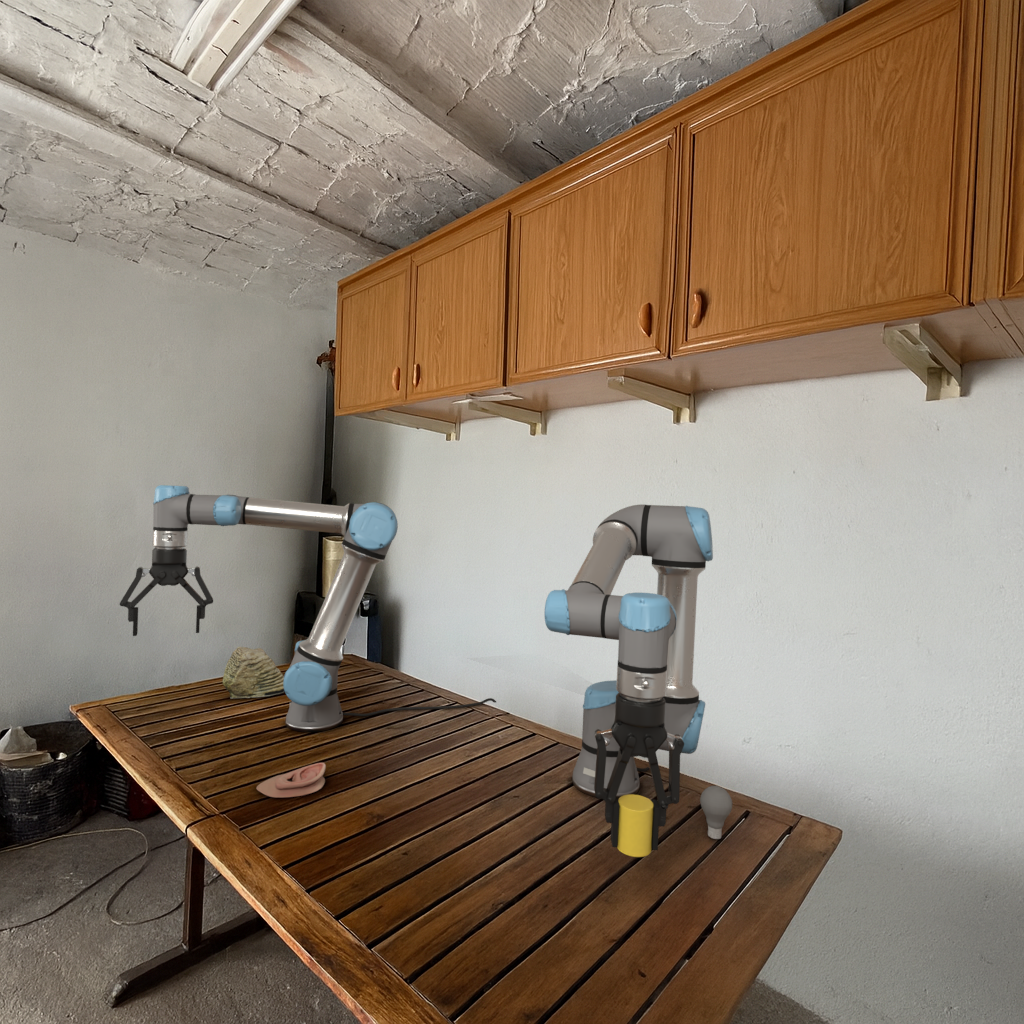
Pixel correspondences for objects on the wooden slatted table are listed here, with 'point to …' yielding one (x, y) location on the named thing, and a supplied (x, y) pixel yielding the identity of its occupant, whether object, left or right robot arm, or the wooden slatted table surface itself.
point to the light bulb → (715, 809)
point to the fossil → (252, 674)
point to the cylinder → (635, 825)
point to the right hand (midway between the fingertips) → (633, 843)
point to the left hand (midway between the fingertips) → (166, 633)
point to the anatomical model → (295, 782)
